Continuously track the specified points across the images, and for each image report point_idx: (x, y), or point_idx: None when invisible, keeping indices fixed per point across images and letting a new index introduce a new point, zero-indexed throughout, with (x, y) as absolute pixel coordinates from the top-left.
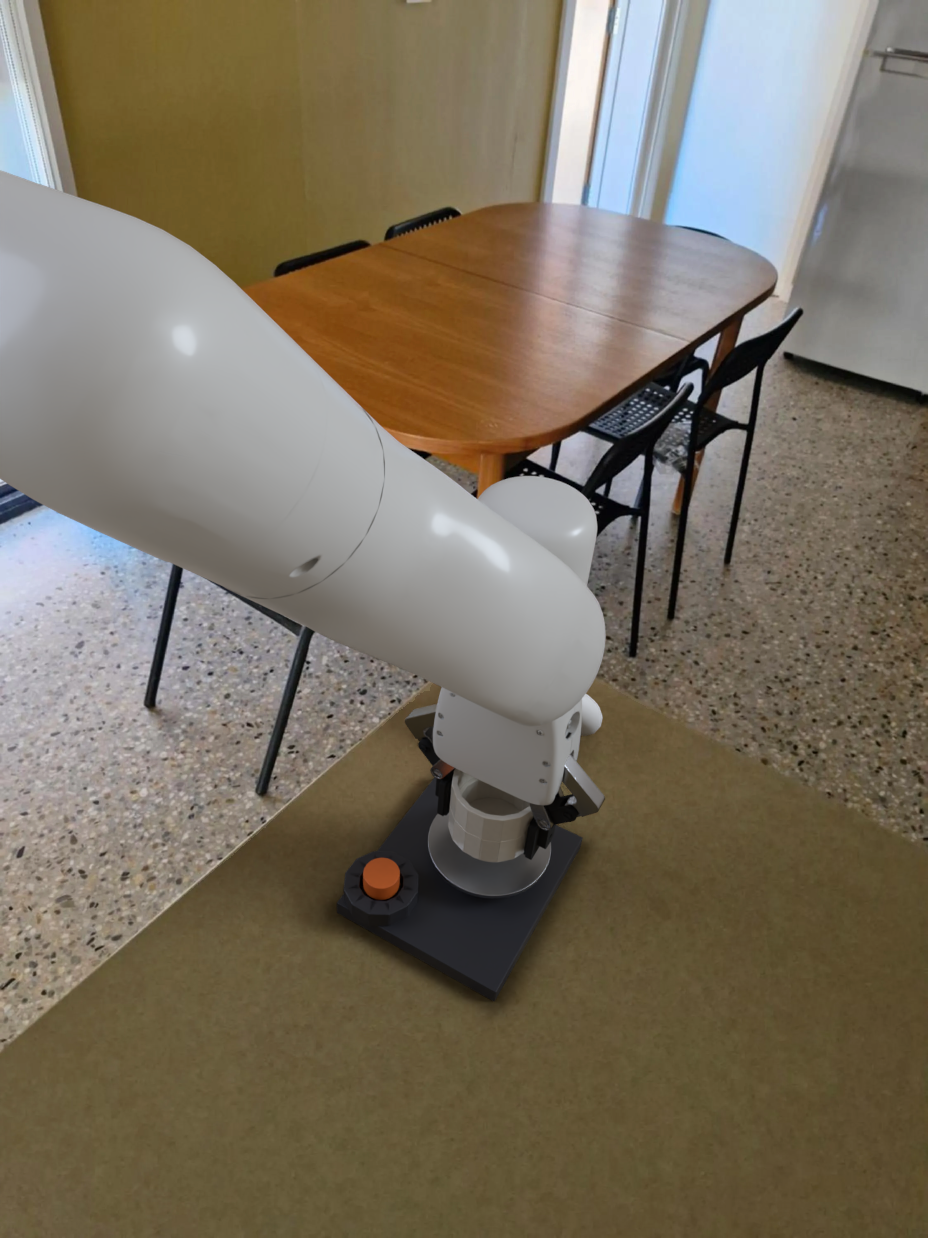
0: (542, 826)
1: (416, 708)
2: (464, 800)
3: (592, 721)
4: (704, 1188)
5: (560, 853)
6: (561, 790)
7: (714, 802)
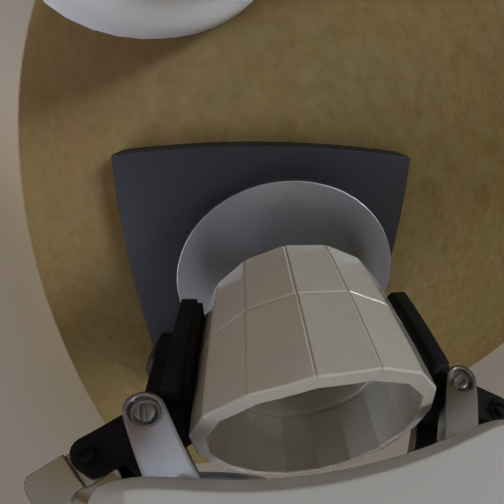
0: None
1: (29, 499)
2: (265, 471)
3: None
4: (471, 358)
5: (386, 204)
6: (476, 407)
7: (496, 22)
